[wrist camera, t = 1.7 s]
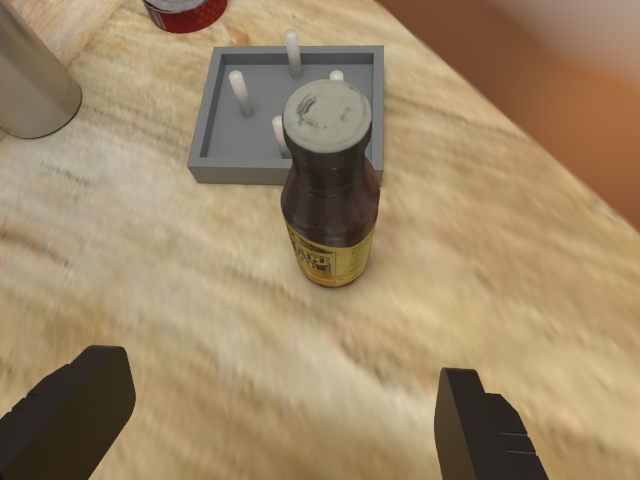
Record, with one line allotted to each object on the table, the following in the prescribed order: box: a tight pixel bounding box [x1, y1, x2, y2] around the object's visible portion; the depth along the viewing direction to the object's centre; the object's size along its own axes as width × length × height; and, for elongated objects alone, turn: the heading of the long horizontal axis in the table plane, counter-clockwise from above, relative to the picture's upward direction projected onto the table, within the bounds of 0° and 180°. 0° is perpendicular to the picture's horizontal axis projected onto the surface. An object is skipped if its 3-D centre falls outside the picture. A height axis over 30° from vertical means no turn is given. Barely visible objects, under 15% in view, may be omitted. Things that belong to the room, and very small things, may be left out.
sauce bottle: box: [281, 79, 380, 287], centre depth 27 cm, size 6×6×20 cm
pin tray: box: [187, 30, 384, 187], centre depth 39 cm, size 18×15×6 cm
